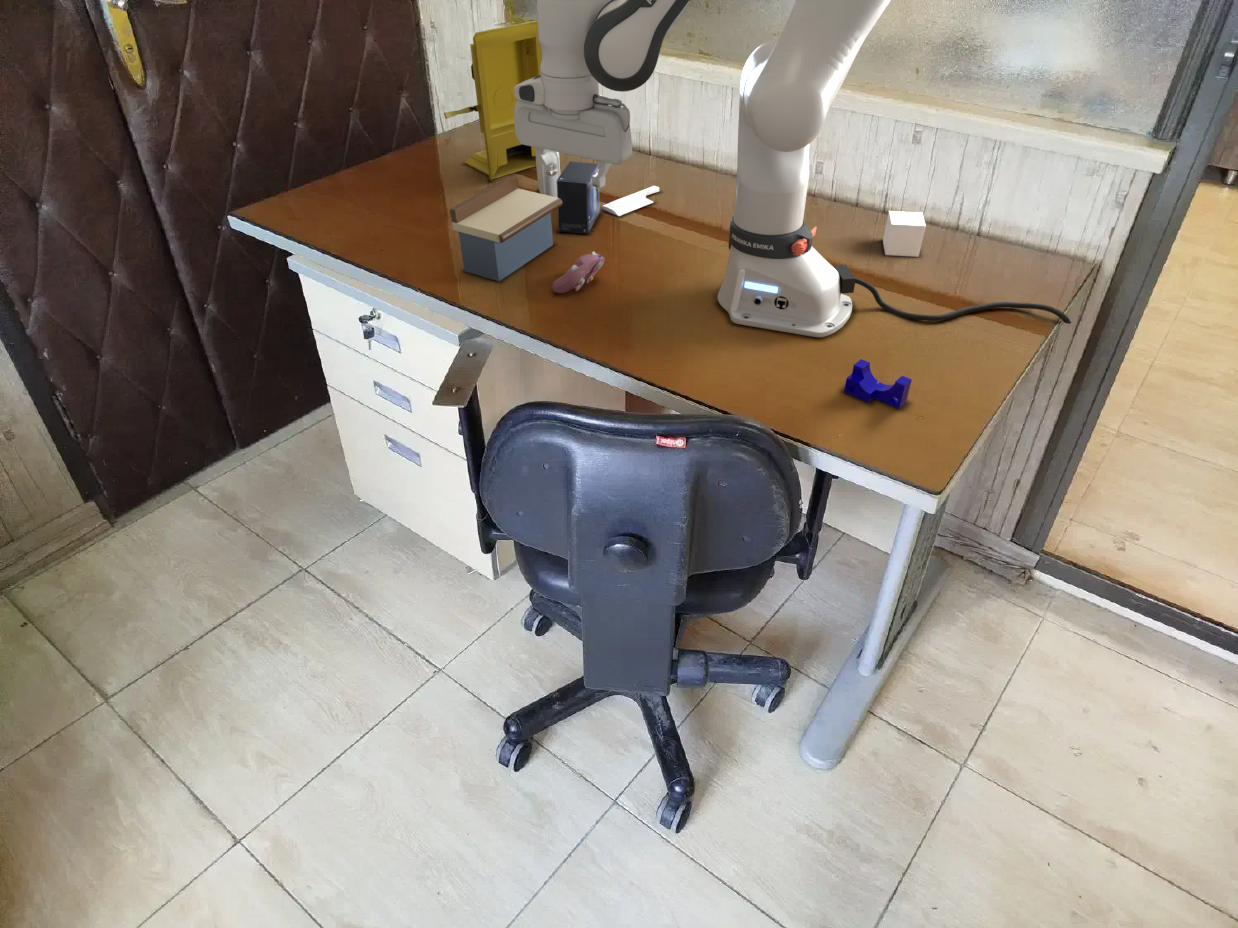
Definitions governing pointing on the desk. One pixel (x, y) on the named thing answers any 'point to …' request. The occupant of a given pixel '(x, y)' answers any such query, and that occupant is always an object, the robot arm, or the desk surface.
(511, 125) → the yellow upright casing
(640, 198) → the white plastic blade
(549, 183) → the photo printer
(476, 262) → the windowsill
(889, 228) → the white cube
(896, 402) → the cable holder
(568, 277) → the video game controller
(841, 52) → the robot arm
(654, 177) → the desk surface
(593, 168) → the small box
